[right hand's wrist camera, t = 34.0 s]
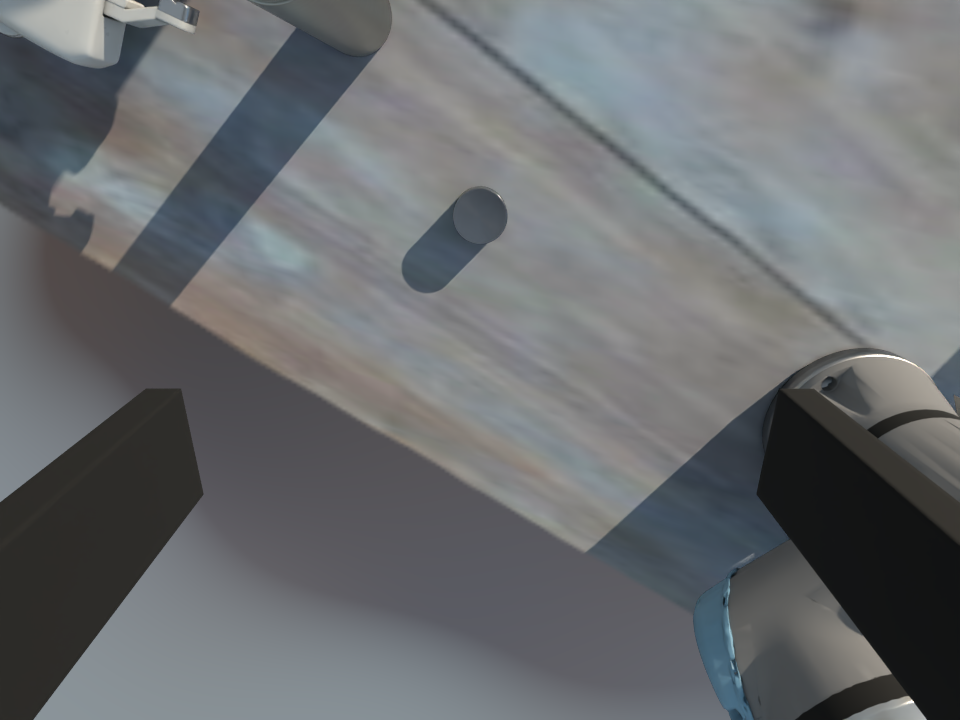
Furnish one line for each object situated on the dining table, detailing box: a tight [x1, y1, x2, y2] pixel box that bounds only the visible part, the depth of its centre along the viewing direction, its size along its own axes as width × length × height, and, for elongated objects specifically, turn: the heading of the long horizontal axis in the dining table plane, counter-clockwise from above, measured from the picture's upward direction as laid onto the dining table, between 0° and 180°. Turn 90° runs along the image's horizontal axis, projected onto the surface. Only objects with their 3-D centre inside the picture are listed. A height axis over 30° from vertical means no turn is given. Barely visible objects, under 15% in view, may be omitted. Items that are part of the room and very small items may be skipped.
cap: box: [453, 186, 507, 244], centre depth 46 cm, size 4×4×2 cm
